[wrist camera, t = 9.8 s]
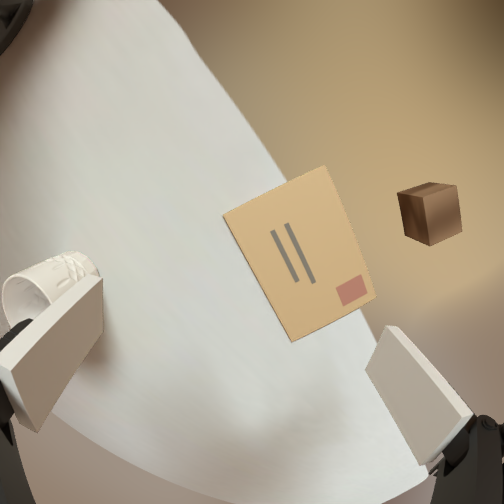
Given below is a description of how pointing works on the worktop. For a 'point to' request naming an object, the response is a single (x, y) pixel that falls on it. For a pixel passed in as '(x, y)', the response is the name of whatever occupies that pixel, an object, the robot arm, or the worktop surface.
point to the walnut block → (430, 212)
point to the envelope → (303, 252)
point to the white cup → (43, 285)
